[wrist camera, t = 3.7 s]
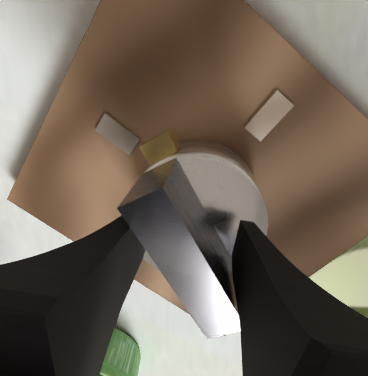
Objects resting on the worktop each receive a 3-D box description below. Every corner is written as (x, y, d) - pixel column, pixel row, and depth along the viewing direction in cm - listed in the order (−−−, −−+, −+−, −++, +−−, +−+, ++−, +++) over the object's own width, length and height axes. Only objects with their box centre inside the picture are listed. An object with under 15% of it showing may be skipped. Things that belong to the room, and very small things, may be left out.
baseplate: (417, 176, 15) (440, 188, 14) (223, 320, 22) (224, 338, 20) (153, -74, 12) (144, -98, 10) (21, 190, 19) (4, 200, 17)
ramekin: (53, 313, 24) (22, 360, 20) (142, 321, 23) (128, 371, 19) (72, 368, 28) (49, 416, 24) (149, 376, 27) (138, 428, 23)
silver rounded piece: (272, 220, 15) (312, 314, 9) (175, 254, 17) (155, 351, 11) (219, 100, 13) (225, 120, 7) (112, 156, 15) (41, 212, 9)
